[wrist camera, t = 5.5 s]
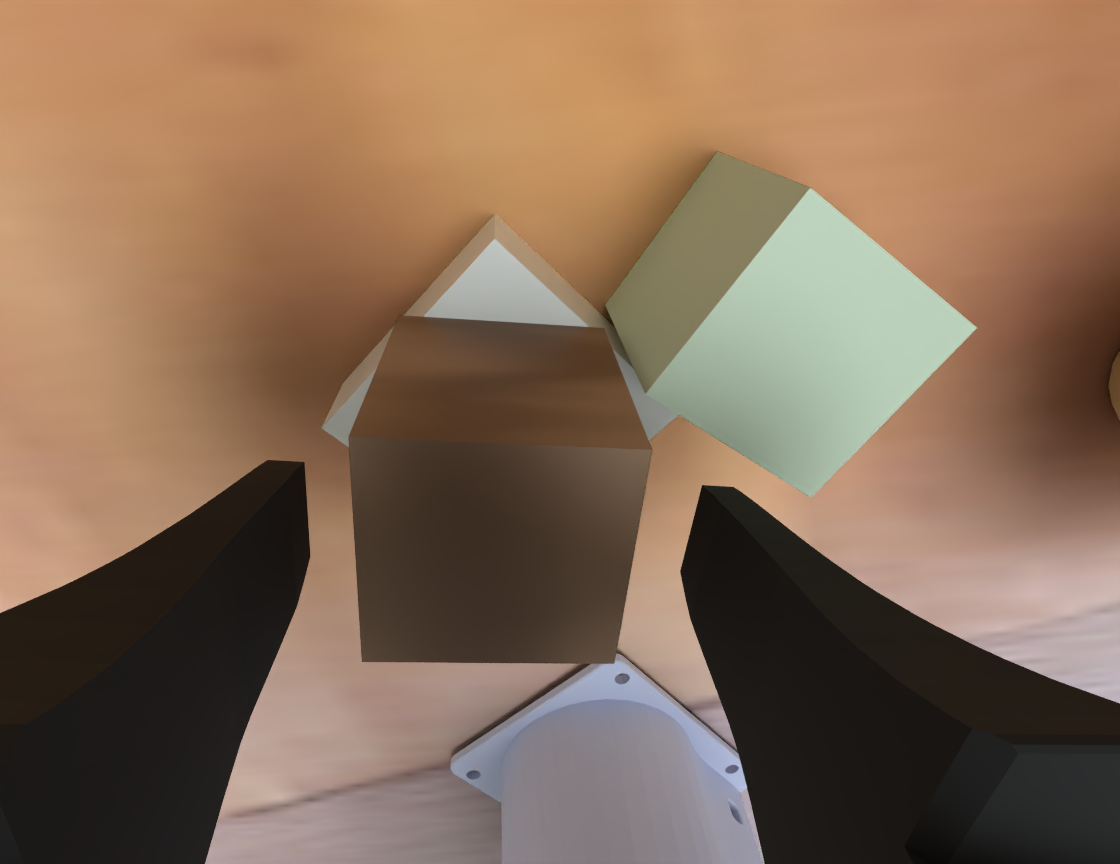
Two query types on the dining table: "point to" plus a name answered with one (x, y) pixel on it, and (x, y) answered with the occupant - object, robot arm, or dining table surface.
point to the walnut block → (495, 494)
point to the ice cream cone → (1115, 385)
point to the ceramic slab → (498, 315)
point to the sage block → (778, 323)
